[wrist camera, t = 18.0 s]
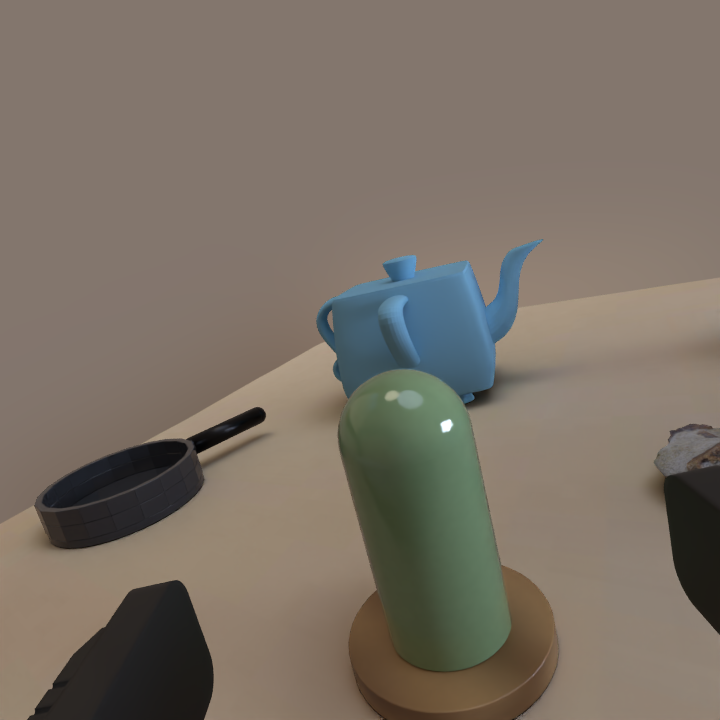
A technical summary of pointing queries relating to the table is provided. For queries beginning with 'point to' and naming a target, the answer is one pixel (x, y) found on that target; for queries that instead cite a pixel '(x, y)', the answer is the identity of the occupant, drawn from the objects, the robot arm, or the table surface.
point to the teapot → (423, 323)
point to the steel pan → (120, 493)
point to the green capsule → (425, 519)
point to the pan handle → (227, 429)
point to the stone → (689, 449)
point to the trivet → (463, 687)
